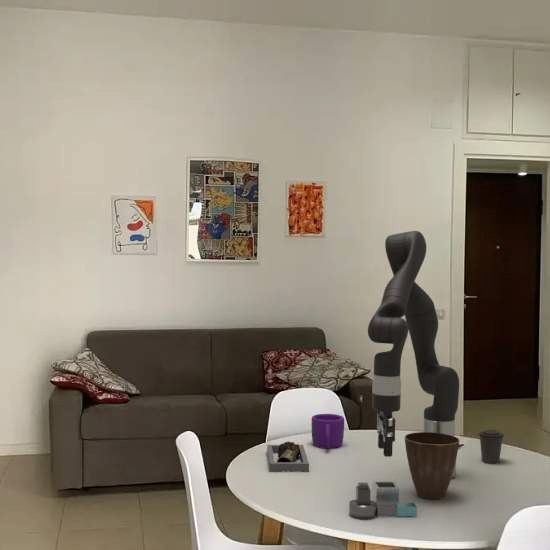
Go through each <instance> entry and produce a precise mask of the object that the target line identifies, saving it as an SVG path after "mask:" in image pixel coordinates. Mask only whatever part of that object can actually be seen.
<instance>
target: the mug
mask: <svg viewBox="0 0 550 550" xmlns="http://www.w3.org/2000/svg"><path fill="white" fill-rule="evenodd" d="M344 433H345V417H344V416H342V415H340V414H333V413H318V414H314V415H312V417H311V440H312V443H313V445H314V446H315V447H317V448H320V447H322V448H321V449H336V447H337V448H339V447H341V446H342V445H343V441H344V437H345V436H344Z"/></svg>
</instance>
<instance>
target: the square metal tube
mask: <svg viewBox="0 0 550 550" xmlns="http://www.w3.org/2000/svg"><path fill="white" fill-rule="evenodd" d="M371 500H372V501H374V502H376V503H377V505H395V503H400V488H399V485H398V484H397V483H396V481H388V480H387V481H383V480H382V481H372V499H371Z"/></svg>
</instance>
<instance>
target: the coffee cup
mask: <svg viewBox="0 0 550 550" xmlns="http://www.w3.org/2000/svg"><path fill="white" fill-rule="evenodd" d="M478 436H479V442H480V452H481V453H480V454H481V462H482V463H483V462H484V464H487V465H498V464H499V463H500V458H501V452H502V445H503V438H504V437H505V434H504V433H503V432H501V431H497V430H495V429H486V430H485V429H484V430H480V431H479V432H478ZM497 463H498V464H497Z"/></svg>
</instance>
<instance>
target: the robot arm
mask: <svg viewBox="0 0 550 550" xmlns="http://www.w3.org/2000/svg"><path fill="white" fill-rule="evenodd" d="M384 245H385V247H384V248H385V253H386V256H387V260H388V263H389V266H390V269H391V271H392V274H393V276H392V278H391V279H390V280H389V281H388V283H387V284H386V286H385V287H384V290H383V295H382V298H381V302H380V305H379V307H378V308H377V310H376V311H375V313H374V314H373V316H372V317H371V319H370V321H369V323H368V327H367V335H368V338H369V340H370V341H372V343H376V344H389V345H392V348H391V349H390V350H387V351H381V352H378V353H376V354H375V355H374V357H373V377H372V378H373V379H372V385H371V386H372V392H371V393H372V394H371V407H372V409H373V410H374V411H376V427H375V428H376V432H377V434H378V436H377V447H378V449H380V450H381V449H383V453H382V454H383V456H384V457H389V458H390V457H392V456H393V443H394V442H396V419H395V417H393V412H399V411H400V410H401V395H402V393H401V391H402V390H401V389H402V380H401V363H402V356H403V350H404V347H405V344H406V341H407V338H408V334H409V336H410V337H409V338H410V341H411V344H412V349H413V352H414V358H415V363H416V364H415V365H416V370H417V371H416V372H417V373H416V374H417V378H418V382H419V385H420V388H421V389H422V391H423V392H424V393H426V394H428V395H431V396H433V402H432V405H430V406H427V407H425V408H424V410H423V432H433V433H442V434H448V435H452V436H455V437H456V435H455V431H456V429H455V428H456V414H457V412H458V408H459V395H460V394H459V393H460V377H459V374H458V373H457V371H456V370H455V369H454V368H452V367H448V366H444V365H440V363H439V360H438V358H437V354H436V346H435V344H436V343H435V342H436V340H437V339H436V338H437V334H438V329H439V319H438V314H437V310H436V307H435V303H434V301H433V299H432V298H431V297H430V295H429V294H428V293H427V292H426V291H425V290H424V289H423V288H422V287H421V286H420V285H419V284H418V283H416V279H417V277H418V275H419V272H420V270H421V267H422V265H423V263H424V260H425V258H426V254H427V242H426V238H425V236H424V234H423V233H422V232H420V231H418V230H411V231H405V232H400V233H395V234H390V235H388V236H386V239H385V243H384ZM403 317H404V318H405V319H404V318H403ZM388 435H390V436H388ZM452 478H453V479H454V478H457V461H456V462H455V467H454V470H453V474H452V477H451V479H452Z"/></svg>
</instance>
